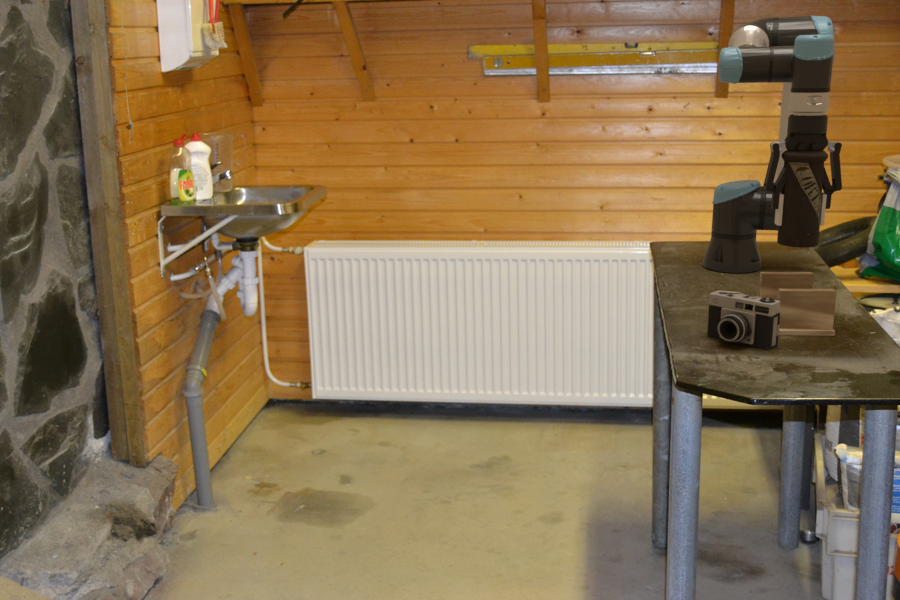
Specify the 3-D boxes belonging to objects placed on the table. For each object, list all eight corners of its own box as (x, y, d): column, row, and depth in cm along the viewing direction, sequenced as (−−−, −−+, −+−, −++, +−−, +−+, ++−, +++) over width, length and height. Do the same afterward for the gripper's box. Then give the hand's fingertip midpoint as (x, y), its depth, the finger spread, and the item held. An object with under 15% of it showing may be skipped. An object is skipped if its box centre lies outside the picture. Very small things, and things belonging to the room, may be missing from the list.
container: (796, 250, 182) (805, 151, 177) (766, 242, 190) (773, 148, 185) (829, 246, 185) (838, 149, 180) (797, 238, 193) (805, 145, 188)
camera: (693, 339, 181) (697, 291, 179) (720, 332, 187) (725, 285, 184) (752, 356, 171) (757, 305, 168) (779, 348, 176) (785, 299, 174)
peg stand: (755, 308, 202) (758, 270, 200) (805, 309, 201) (809, 270, 199) (779, 335, 183) (782, 293, 181) (834, 335, 182) (838, 293, 180)
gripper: (760, 115, 178) (752, 227, 184) (867, 114, 176) (856, 227, 182) (751, 113, 185) (744, 221, 191) (855, 112, 183) (844, 221, 189)
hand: (799, 224), depth 187 cm, fingers closed on container, 8 cm apart
